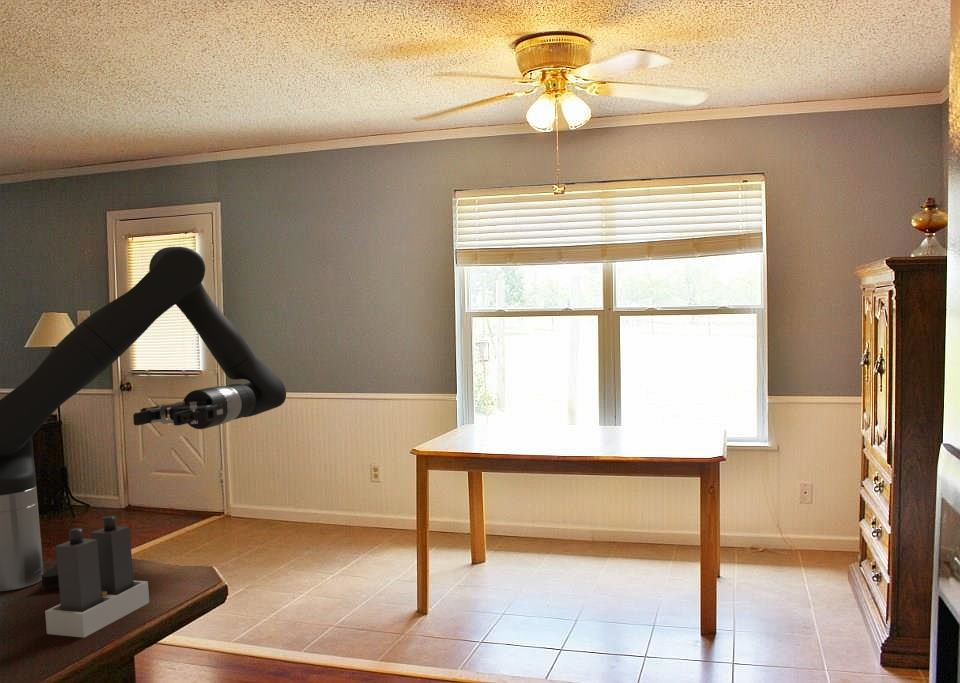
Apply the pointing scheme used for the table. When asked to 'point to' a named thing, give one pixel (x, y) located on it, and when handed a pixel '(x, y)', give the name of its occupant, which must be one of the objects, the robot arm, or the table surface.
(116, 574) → the plug
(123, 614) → the grey rectangular tray
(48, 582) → the black sponge
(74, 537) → the twin plug
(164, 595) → the table surface
